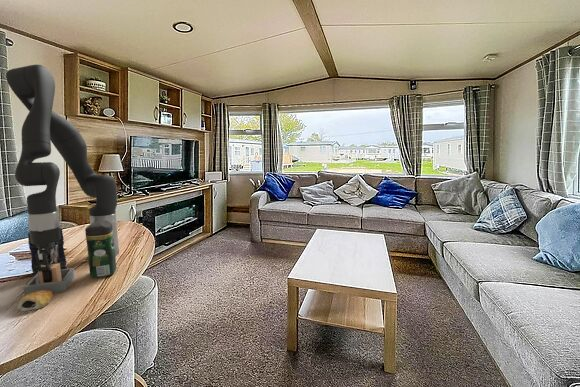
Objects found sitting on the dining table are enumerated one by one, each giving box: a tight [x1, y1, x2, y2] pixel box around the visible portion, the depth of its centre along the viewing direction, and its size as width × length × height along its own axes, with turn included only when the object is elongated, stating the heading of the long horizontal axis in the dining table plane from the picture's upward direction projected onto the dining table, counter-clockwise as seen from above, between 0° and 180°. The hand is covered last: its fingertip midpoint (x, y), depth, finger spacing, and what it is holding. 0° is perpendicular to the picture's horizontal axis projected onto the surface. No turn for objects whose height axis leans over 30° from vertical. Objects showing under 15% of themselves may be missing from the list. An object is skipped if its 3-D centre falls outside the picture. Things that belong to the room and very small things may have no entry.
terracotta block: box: [38, 263, 62, 284], centre depth 101 cm, size 4×4×6 cm
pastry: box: [16, 290, 54, 312], centre depth 90 cm, size 9×7×4 cm
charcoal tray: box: [23, 267, 76, 297], centre depth 101 cm, size 12×10×3 cm
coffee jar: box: [84, 221, 117, 279], centre depth 110 cm, size 10×8×19 cm
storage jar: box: [27, 227, 68, 277], centre depth 112 cm, size 10×10×15 cm
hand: (50, 278), depth 101 cm, fingers open, 5 cm apart
